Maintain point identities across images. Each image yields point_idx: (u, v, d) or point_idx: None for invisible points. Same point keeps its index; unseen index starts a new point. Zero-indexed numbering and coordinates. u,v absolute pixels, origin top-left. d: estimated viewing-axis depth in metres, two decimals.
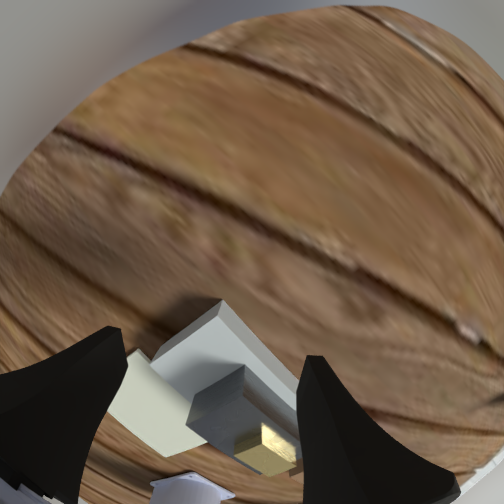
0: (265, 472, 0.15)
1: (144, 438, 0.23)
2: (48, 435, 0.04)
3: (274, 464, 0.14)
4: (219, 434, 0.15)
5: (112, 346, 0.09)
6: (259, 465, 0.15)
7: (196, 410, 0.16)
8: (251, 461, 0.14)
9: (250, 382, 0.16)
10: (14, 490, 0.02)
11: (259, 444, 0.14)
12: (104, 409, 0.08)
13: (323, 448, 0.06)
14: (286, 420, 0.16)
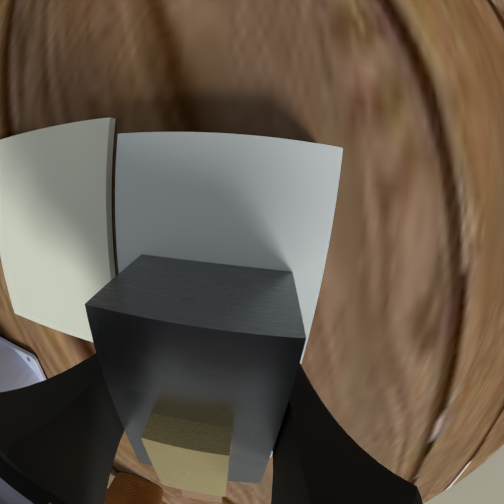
0: (165, 479, 0.07)
1: (7, 267, 0.12)
2: (76, 450, 0.04)
3: (197, 481, 0.06)
4: (143, 378, 0.06)
5: None
6: (169, 471, 0.06)
7: (133, 289, 0.06)
8: (164, 461, 0.06)
9: None
10: (14, 490, 0.02)
11: (220, 453, 0.06)
12: None
13: (285, 448, 0.06)
14: None
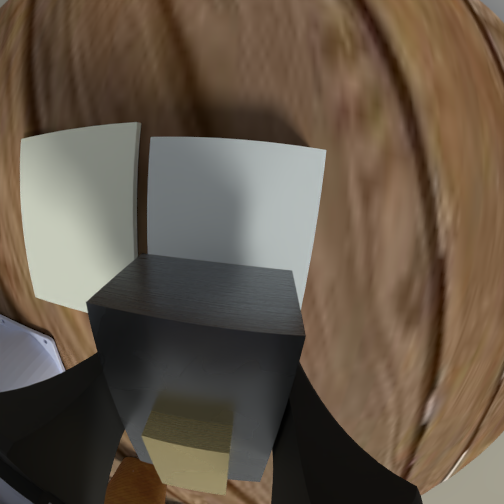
0: (165, 478, 0.07)
1: (31, 253, 0.15)
2: (76, 450, 0.04)
3: (197, 480, 0.06)
4: (143, 376, 0.06)
5: None
6: (169, 469, 0.06)
7: (133, 287, 0.06)
8: (164, 459, 0.06)
9: None
10: (14, 490, 0.02)
11: (220, 451, 0.06)
12: None
13: (286, 448, 0.06)
14: None
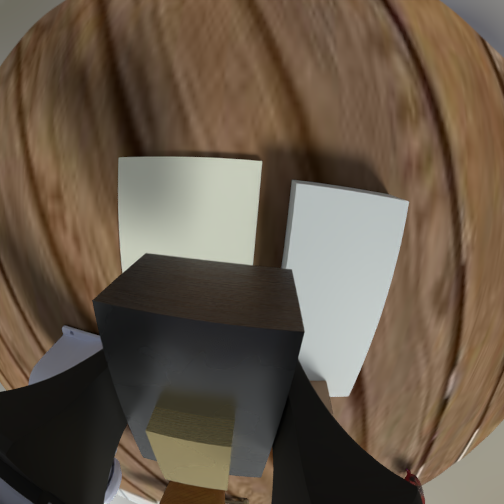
0: (168, 473, 0.07)
1: None
2: (76, 450, 0.04)
3: (199, 475, 0.07)
4: (148, 371, 0.06)
5: None
6: (172, 464, 0.07)
7: (138, 286, 0.07)
8: (167, 454, 0.06)
9: None
10: (14, 490, 0.02)
11: (223, 444, 0.06)
12: None
13: (286, 449, 0.06)
14: None
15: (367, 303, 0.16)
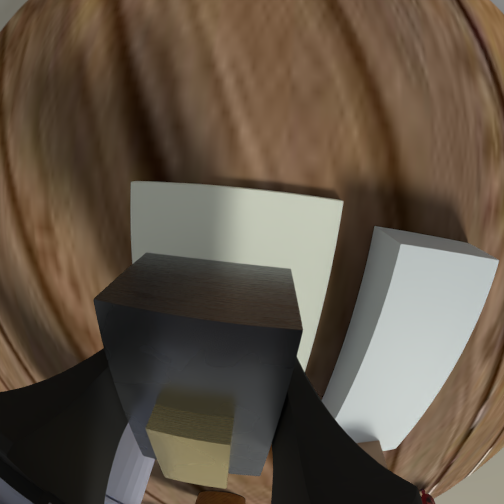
0: (167, 472, 0.07)
1: None
2: (76, 450, 0.04)
3: (199, 473, 0.07)
4: (148, 370, 0.06)
5: None
6: (172, 462, 0.07)
7: (139, 284, 0.07)
8: (167, 452, 0.06)
9: None
10: (14, 490, 0.02)
11: (222, 442, 0.06)
12: None
13: (285, 449, 0.06)
14: None
15: (439, 368, 0.12)
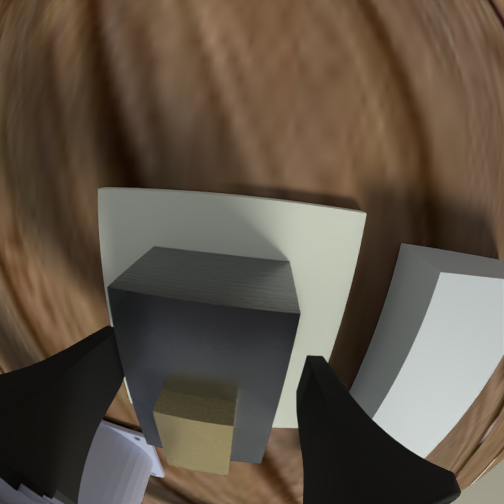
0: (171, 458, 0.08)
1: None
2: (48, 435, 0.04)
3: (202, 458, 0.07)
4: (157, 354, 0.07)
5: (112, 346, 0.09)
6: (176, 447, 0.07)
7: (149, 274, 0.07)
8: (172, 436, 0.07)
9: None
10: (14, 490, 0.02)
11: (225, 424, 0.07)
12: (104, 409, 0.08)
13: (323, 448, 0.06)
14: None
15: (461, 401, 0.09)
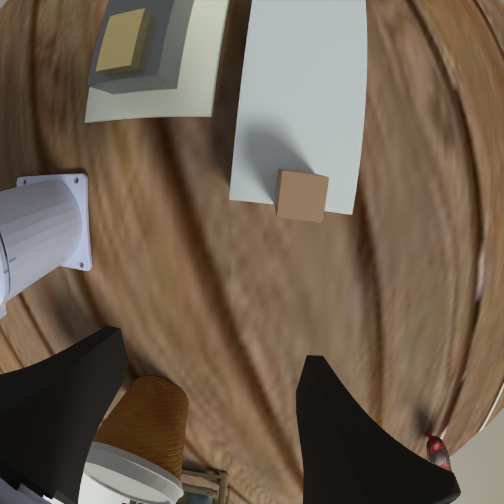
0: (101, 58, 0.10)
1: None
2: (48, 435, 0.04)
3: (120, 47, 0.10)
4: (123, 4, 0.10)
5: (112, 346, 0.09)
6: (109, 41, 0.10)
7: None
8: (111, 31, 0.10)
9: None
10: (14, 490, 0.02)
11: (141, 9, 0.09)
12: (104, 409, 0.08)
13: (323, 448, 0.06)
14: (174, 33, 0.12)
15: (345, 60, 0.12)
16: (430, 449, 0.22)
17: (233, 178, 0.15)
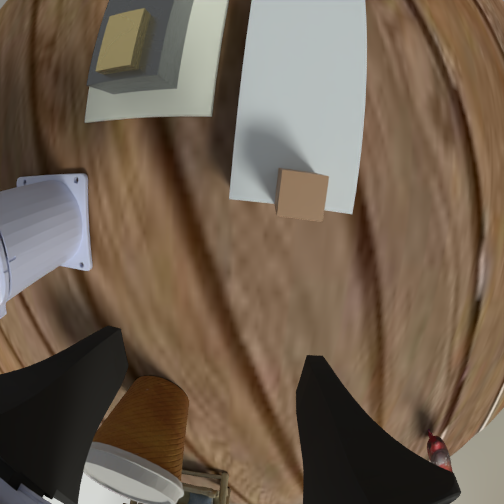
0: (101, 58, 0.10)
1: None
2: (48, 435, 0.04)
3: (119, 47, 0.10)
4: (122, 4, 0.10)
5: (112, 346, 0.09)
6: (109, 41, 0.10)
7: None
8: (111, 31, 0.10)
9: None
10: (14, 490, 0.02)
11: (141, 9, 0.09)
12: (104, 409, 0.08)
13: (323, 448, 0.06)
14: (174, 33, 0.12)
15: (345, 59, 0.12)
16: (431, 449, 0.21)
17: (233, 177, 0.15)
